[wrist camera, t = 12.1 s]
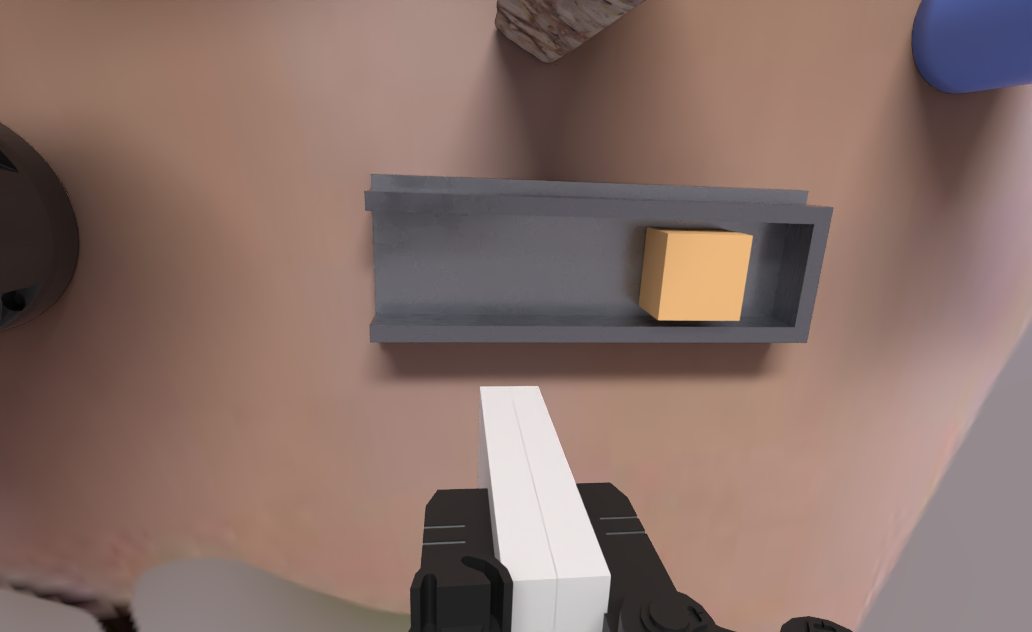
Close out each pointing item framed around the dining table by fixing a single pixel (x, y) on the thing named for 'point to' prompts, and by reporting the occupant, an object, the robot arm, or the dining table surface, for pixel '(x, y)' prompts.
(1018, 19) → the water bottle
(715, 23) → the dining table surface
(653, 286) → the block
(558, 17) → the stone block
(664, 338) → the chute
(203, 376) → the dining table surface
